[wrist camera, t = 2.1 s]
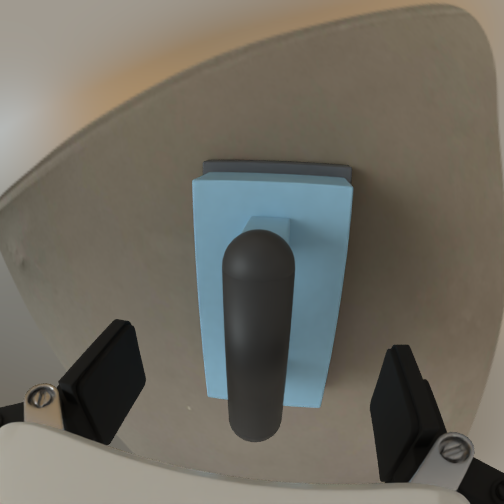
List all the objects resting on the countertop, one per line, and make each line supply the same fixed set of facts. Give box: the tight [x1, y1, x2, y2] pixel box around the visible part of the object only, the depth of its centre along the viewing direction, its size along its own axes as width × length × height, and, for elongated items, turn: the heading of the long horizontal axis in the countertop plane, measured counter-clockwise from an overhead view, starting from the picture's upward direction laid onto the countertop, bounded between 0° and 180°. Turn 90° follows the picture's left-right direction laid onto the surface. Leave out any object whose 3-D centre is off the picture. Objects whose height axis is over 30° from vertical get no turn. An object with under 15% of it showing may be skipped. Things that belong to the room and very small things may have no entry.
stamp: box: [192, 160, 353, 442], centre depth 14 cm, size 14×7×8 cm, turn 179°
